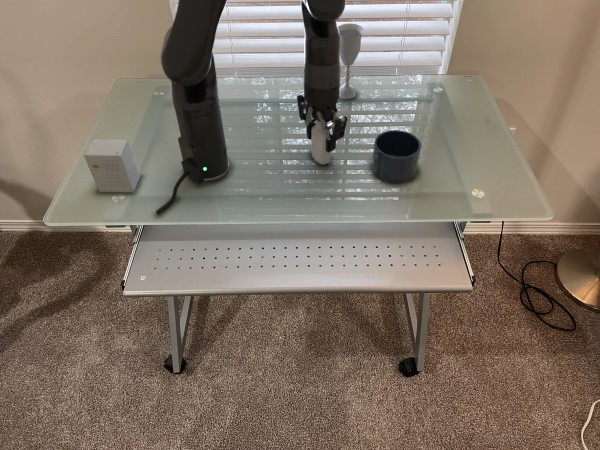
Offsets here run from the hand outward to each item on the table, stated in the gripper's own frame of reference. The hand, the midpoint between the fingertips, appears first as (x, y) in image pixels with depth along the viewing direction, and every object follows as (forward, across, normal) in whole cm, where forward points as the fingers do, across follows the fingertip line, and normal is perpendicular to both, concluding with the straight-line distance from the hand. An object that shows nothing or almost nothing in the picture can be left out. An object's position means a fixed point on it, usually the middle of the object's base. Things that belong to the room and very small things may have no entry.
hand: (320, 144), depth 115 cm
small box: (+4, -23, -40) cm, 46 cm away
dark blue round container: (+4, +14, +10) cm, 18 cm away
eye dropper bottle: (+4, 0, 0) cm, 4 cm away
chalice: (+4, -16, +24) cm, 29 cm away
